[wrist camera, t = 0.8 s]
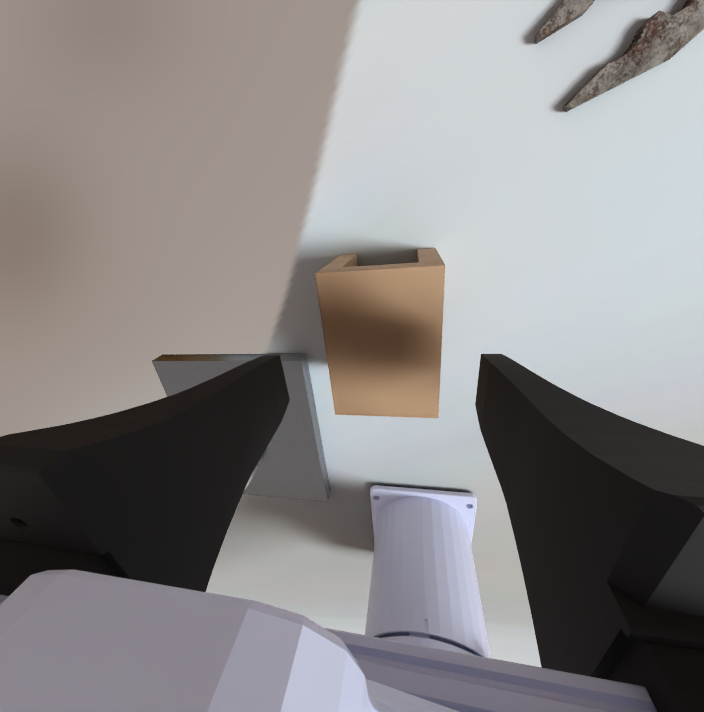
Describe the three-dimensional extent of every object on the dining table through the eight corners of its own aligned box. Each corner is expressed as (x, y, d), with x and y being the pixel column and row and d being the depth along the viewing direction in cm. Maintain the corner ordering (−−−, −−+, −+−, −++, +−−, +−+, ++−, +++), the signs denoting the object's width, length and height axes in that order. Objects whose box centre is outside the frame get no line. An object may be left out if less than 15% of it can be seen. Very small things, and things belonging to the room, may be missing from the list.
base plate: (330, 491, 25) (319, 531, 22) (215, 481, 27) (190, 516, 24) (305, 353, 19) (286, 381, 16) (162, 354, 22) (121, 379, 18)
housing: (431, 367, 18) (438, 418, 14) (352, 366, 19) (335, 414, 15) (435, 247, 15) (445, 265, 11) (340, 254, 16) (315, 273, 12)
